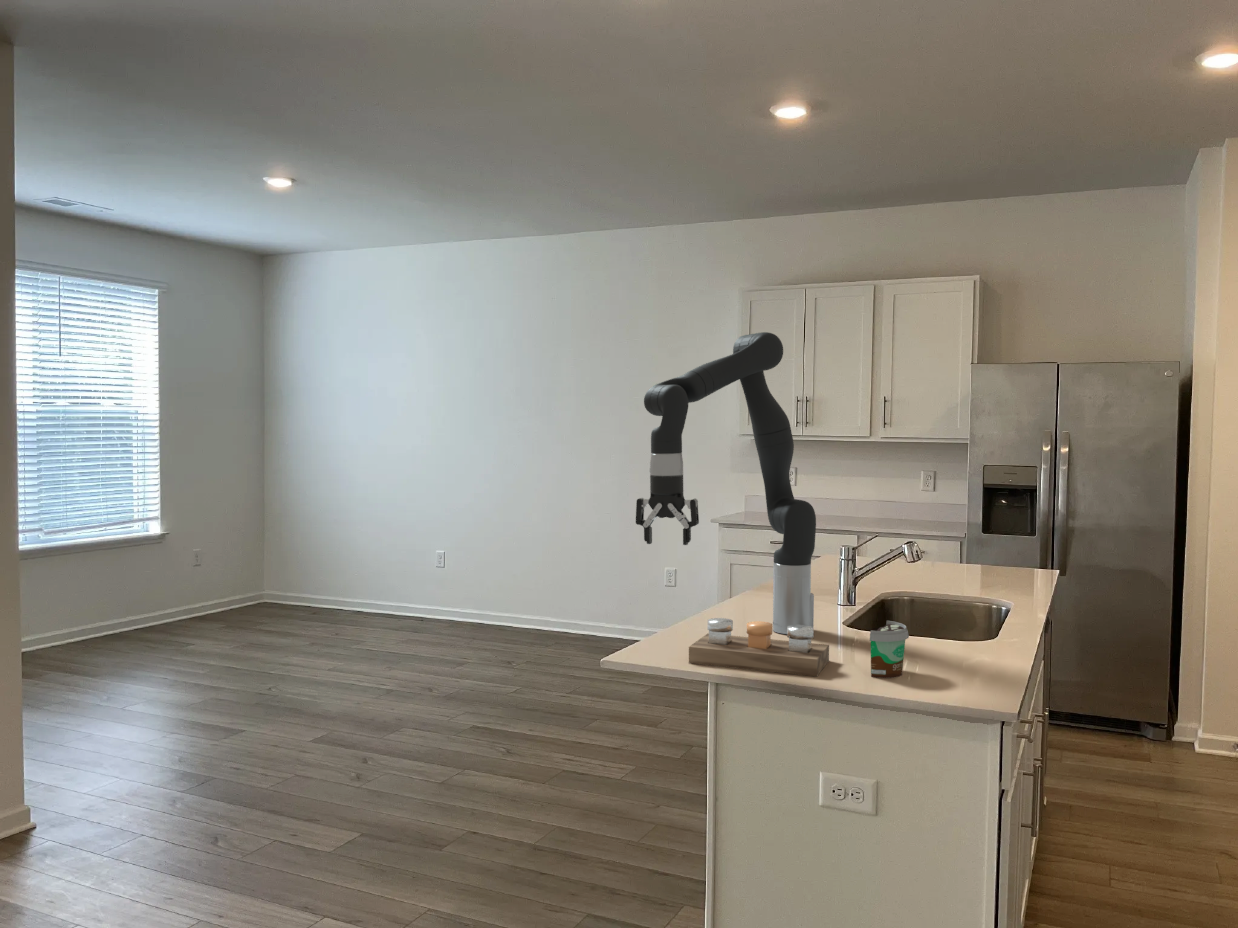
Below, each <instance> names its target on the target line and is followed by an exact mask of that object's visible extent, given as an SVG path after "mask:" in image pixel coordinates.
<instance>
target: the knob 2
mask: <svg viewBox="0 0 1238 928" xmlns="http://www.w3.org/2000/svg"><path fill="white" fill-rule="evenodd" d="M786 637H787V638H788V641H789V651H792V652H803V653H808V652H809V651H810V650H811V643H812V640H813V639H814V628H813V627H811V626H806V625H790V626H788V627H787V634H786Z"/></svg>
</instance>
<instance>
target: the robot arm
mask: <svg viewBox="0 0 1238 928" xmlns="http://www.w3.org/2000/svg"><path fill="white" fill-rule="evenodd" d="M783 356H784V345H783V343H782V341H781V339H780V338H779V336H778V335H776V334H774V333H772V332H766V331H764V332H756V333H749V334H744V335H741V336H739V337H737V339H736V340H735V341H734V344H733V348H732V353H731V354H729V355H727V356H722V357H721V358H718V359H715V360H712V361H708V362H705V363H703V364H701V365H699V366H696V367H694V368H693V369H691V370H689V371H687V372H685V373H684V374H682V375H679V376H677V377H673V378H671V379H668V380H664V381H662V382H659V383H656V384H655V385H653V386H651V387H650V388H649V389H648V390H647V391H646V392H645V394H644V396H643V398H644V399H643V405H644V408H645V409H646V411H647V412H648V413H649V414H651V415H653V416H657V417H661V421H660V425H659V426H657V427H654V428H653V429H652V430H651V435H650V459H649V460H650V462H649V479H650V480H649V483H650V484H649V486H650V487H649V488H650V489H649V490H650V492H649V493H650V497H649V498H644V497H639V498H637V499H636V506H635V525H638V526H642V527H643V540H644V542H646V544H647V545H652V543H653V527H652V524H653V523H654V522H655V520H656V519H657V518H660V519H663V518H668V519H676V520H677V521H678V522H679V523H680V524H681V525H682V527H683V529H682V546H688V545H689V543H690V542H691V540H692V537H691V536H692V533H691V531H692V527H696V526H698V525H699V523H700V517H699V504H698V503H699V501H698V499H697V498H693V499H685V497H684V460H683V459H684V458H683V438H682V437H683V436H682V435H683V432H684V428H685V424H686V421H687V420H686V419H687V415H688V410H689V404H691V403H695V402H698V401H700V400H702V399H704V398H706V397H707V396H710V395H712V394H713V393H714V394H715V392H717V391H720V390H722V389H723V388H725V387H726V386H729V385H731V384H733V383H735V382H736V381H739V382H740V384H741V388H742V391H743V394H744V398H745V402H746V405H747V409H748V415H749V419H750V423H751V428H752V434H753V438H754V439H753V440H754V442H755V448H756V452H757V456H758V460H759V464H760V465H759V466H760V470H761V475H762V479H763V485H764V492H765V501H766V502H765V504H766V514H767V518H768V522H769V525H770V526H771V528H772V529H773V530H774V531H775V532H776V533H777V534H780V535H783V537H782V546H781V547H780V548H778V549H776V550H775V551H774V553H773V572H772V573H773V586H772V587H773V591H772V595H773V596H772V599H773V600H772V632H775V633H778V634H783V635H787V627H788V626H790V625H806V626H811V627H813V628H814V626H815V624H814V623H815V621H814V620H815V619H814V617H815V614H814V613H815V610H814V608H815V595H814V593H812V592H811V590H812V588H811V585H812V584H811V583H812V580H811V579H812V576H811V575H812V557H813V555H814V552H815V548H816V547H815V546H816V531H817V516H816V511H815V508H814V507H813V505H812V504H811V503H810V502H808V501H806V500H803V499H796V498H795V496H794V494H793V489H792V484H791V479H790V471H791V465H792V460H793V456H794V450H795V447H794V446H795V445H794V444H795V443H794V438H793V433H792V429H791V424H790V420H789V418H788V415H787V414H786V412H785V410H784V409H783V408H782V407H781V405H780V403H779V402H778V401H777V400H776V398H775V397H774V395H772V393H771V390H770V389H769V387H768V384H767V382H766V376H765V372H764V371H769V370H772V369H774V368H775V367H777V366H778V365H779V364H780V363H781V361H782V359H783ZM647 506H649V507H650V509H651V510H652V511H651V512H650V514H649V515H648V516H647V518H646V520H645V509H646V507H647ZM685 506H687V509H689V510H690V521H689V519H688V517H687V516H686V514H685V512H684V511H683V508H684V507H685Z"/></svg>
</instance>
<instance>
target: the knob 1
mask: <svg viewBox="0 0 1238 928" xmlns="http://www.w3.org/2000/svg"><path fill="white" fill-rule="evenodd" d="M733 626H734V621H733V620H732V619H730V618H726V617H714V618H708V619H707V631H708V633H709V643H710V644H721V645H728V644H729V643H730V642H731V636H732V631H733V630H734V629H733V628H734V627H733Z"/></svg>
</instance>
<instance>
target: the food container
mask: <svg viewBox="0 0 1238 928" xmlns="http://www.w3.org/2000/svg"><path fill="white" fill-rule="evenodd" d="M909 638H910V636H909V631H908V628H907V626H906V625H905V624H903V623H901V622H898V621H894V620H893V621H892V620H886V624H885V625H884V626H880V627H879V628H877V630H870V633H869V641H870V677H871V678H876V679H877V678H878V679H892V678H894V679H895V678H898V677H900V676H902V675H903V669H904V660H905V659H904V658H905V649H906V648H905V647H906V640H908V639H909Z"/></svg>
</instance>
